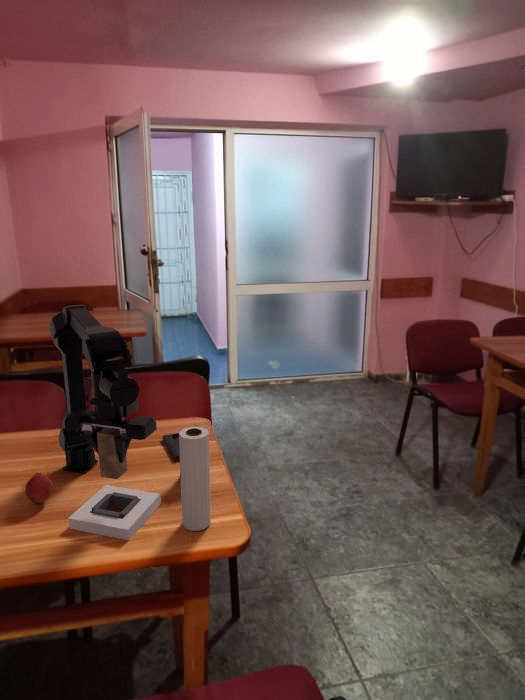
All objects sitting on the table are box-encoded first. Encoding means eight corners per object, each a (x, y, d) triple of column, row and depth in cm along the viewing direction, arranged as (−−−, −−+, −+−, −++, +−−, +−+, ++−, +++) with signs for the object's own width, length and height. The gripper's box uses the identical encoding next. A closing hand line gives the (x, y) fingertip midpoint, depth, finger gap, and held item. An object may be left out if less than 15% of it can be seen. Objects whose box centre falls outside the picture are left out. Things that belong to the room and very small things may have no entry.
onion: (28, 513, 114) (24, 480, 112) (26, 500, 119) (22, 469, 117) (56, 506, 117) (52, 474, 115) (53, 494, 122) (49, 463, 120)
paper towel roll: (198, 535, 107) (196, 440, 101) (176, 526, 110) (172, 433, 104) (219, 518, 113) (218, 427, 107) (197, 509, 116) (195, 421, 110)
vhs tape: (203, 458, 141) (203, 451, 140) (175, 463, 138) (175, 456, 137) (189, 437, 154) (189, 431, 153) (162, 441, 150) (162, 435, 150)
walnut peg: (100, 476, 110) (96, 433, 107) (111, 467, 113) (107, 425, 111) (117, 479, 108) (113, 435, 106) (127, 470, 112) (124, 427, 110)
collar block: (69, 528, 109) (68, 515, 108) (106, 494, 122) (105, 482, 121) (128, 540, 105) (127, 527, 104) (160, 503, 118) (160, 492, 117)
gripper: (166, 383, 111) (169, 450, 115) (90, 375, 116) (96, 439, 120) (141, 401, 101) (145, 473, 105) (58, 392, 106) (66, 461, 110)
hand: (113, 460), depth 110 cm, fingers closed on walnut peg, 4 cm apart
